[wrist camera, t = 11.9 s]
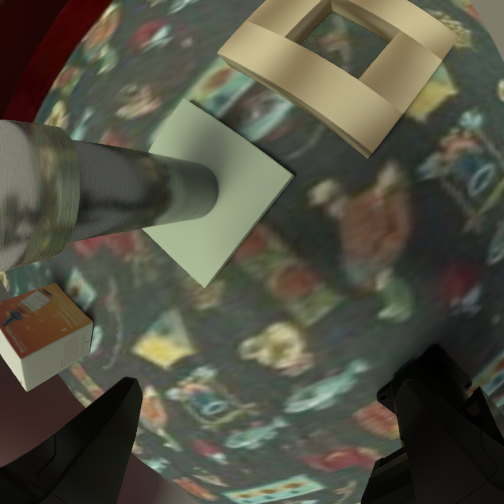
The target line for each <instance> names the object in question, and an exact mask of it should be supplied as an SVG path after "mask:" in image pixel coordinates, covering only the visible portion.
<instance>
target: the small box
mask: <svg viewBox="0 0 504 504" xmlns="http://www.w3.org/2000/svg"><path fill="white" fill-rule="evenodd" d="M92 329H93V321H92V320H91V319H90V318H89V317H88V316H86V315H85V314H84V313H83V312H82V311H81V310H80V309H79V308H78V307H77V306H76V305H75V304H74V303H73V302H72V300H71V299H70V298H69V297H68V296H67V295H66V294H65V293H64V292H63V291H62V290H61V288H60V287H59V286H58V285H57V284H56V283H53V284H50V285H47V286H44V287H41V288H38V289H36V290H33V291H30V292H27V293H24V294H21V295H19V296H16V297H13V298H10V299H8V300H5V301H2V302H0V354H1V355H2V357H3V358H4V360H5V361H6V363H7V364H8V365H9V367H10V368H11V370H12V371H13V373H14V374H15V375H16V377H17V378H18V380H19V381H20V382H21V384H22V386H23V387H24V389H25V390H26V391H29V390H31V389H33V388H34V387H36V386H37V385H39V384H41V383H42V382H44V381H46V380H47V379H49V378H50V377H52V376H54V375H55V374H57V373H58V372H60V371H62V370H63V369H65V368H66V367H68V366H70V365H71V364H73V363H75V362H76V361H78V360H80V359H81V358H83V357H85V356H86V355H88V354H89V350H90V343H91V336H92Z"/></svg>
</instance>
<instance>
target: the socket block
mask: <svg viewBox="0 0 504 504" xmlns="http://www.w3.org/2000/svg"><path fill="white" fill-rule="evenodd" d="M331 11H334V12H336V13H338V14H340V15H342V16H344V17H346V18H348V19H349V20H351V21H353V22H355V23H357V24H359V25H360V26H362V27H364V28H366V29H367V30H369V31H371V32H373V33H374V34H376V35H377V36H379V37H381V38H382V39H384V40H385V41H387V42H388V43H389V44H388V45H387V47H386V48H385V49H384V50H383V51H382V52H381V54H380V55H379V56H378V57H377V58H376V59H375V61H374V62H373V63H372V64H371V65H370V67H369V68H368V69H367V70H366V71H365V72H364V74H363V75H362V76H361V77H360V78H359V80H357V79H356V78H354V77H353V76H351V75H350V74H348V73H347V72H345V71H344V70H342V69H340V68H339V67H337V66H336V65H334V64H332V63H331V62H329V61H327V60H326V59H324V58H322V57H320V56H319V55H317V54H315V53H313V52H312V51H310V50H308V49H306V48H304V47H302V46H300V45H299V44H300V43H301V42H302V41H303V40H304V39H305V38H306V37H307V36H308V35H309V34H310V33H311V32H312V31H313V30H314V29H315V27H316V26H317V25H318V24H319V23H320V22H321V21H322V20H323V19H324V18H325V17H326V16H327V15H328V14H329V13H330V12H331ZM458 37H459V36H457V35H456V34H455V33H454V32H452V31H451V30H450V29H448V28H447V27H446V26H445V25H443V24H442V23H440V22H439V21H438V20H436V19H435V18H433V17H432V16H430V15H429V14H428V13H426V12H425V11H423V10H422V9H420V8H418V7H417V6H415V5H414V4H412V3H410V2H409V1H407V0H266V1H265V2H264V3H263V4H262V5H261V6H260V7H259V8H258V9H257V10H256V11H255V12H254V13H253V14H252V15H251V16H250V17H249V18H248V19H247V20H246V21H245V22H244V23H243V24H242V25H241V26H240V27H239V29H238V30H237V31H236V32H235V33H234V34H233V35H232V36H231V37H230V38H229V40H228V41H227V42H226V43H225V44H224V45H223V47H222V48H221V49H220V50H219V51H218V52H217V53H218V54H219V55H220V56H221V57H222V59H223V60H224V61H225V62H226V63H227V64H228V65H229V66H230V67H232V68H234V69H236V70H238V71H239V72H241V73H243V74H245V75H247V76H248V77H250V78H252V79H254V80H256V81H257V82H259V83H261V84H262V85H264V86H266V87H267V88H269V89H271V90H272V91H274V92H276V93H277V94H279V95H280V96H282V97H284V98H285V99H287V100H288V101H290V102H291V103H293V104H295V105H296V106H298V107H299V108H301V109H302V110H304V111H305V112H306V113H308V114H309V115H311V116H312V117H314V118H315V119H317V120H318V121H319V122H321V123H322V124H323V125H325V126H326V127H328V128H329V129H330V130H332V131H333V132H334V133H336V134H337V135H338V136H340V137H341V138H342V139H344V140H345V141H346V142H347V143H349V144H350V145H351V146H352V147H354V148H355V149H356V150H357V151H359V152H360V153H361V154H362V155H364V156H365V157H366V158H367V159H368V158H369V157H370V156H371V154H372V153H373V152H374V151H375V149H376V148H377V147H378V146H379V144H380V143H381V142H382V140H383V139H384V138H385V137H386V135H387V134H388V133H389V131H390V130H391V129H392V127H393V126H394V125H395V124H396V122H397V121H398V120H399V118H400V117H401V116H402V114H403V113H404V112H405V110H406V109H407V108H408V106H409V105H410V104H411V102H412V101H413V100H414V98H415V97H416V96H417V94H418V93H419V92H420V90H421V89H422V88H423V86H424V85H425V84H426V82H427V81H428V80H429V78H430V77H431V75H432V74H433V73H434V71H435V70H436V69H437V67H438V66H439V64H440V63H441V62H442V60H443V59H444V57H445V56H446V55H447V53H448V52H449V50H450V49H451V47H452V46H453V45H454V43H455V42H456V40H457V39H458Z"/></svg>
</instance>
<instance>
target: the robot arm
mask: <svg viewBox="0 0 504 504" xmlns="http://www.w3.org/2000/svg"><path fill="white" fill-rule="evenodd" d="M437 349H438V350H437ZM435 350H437V352H435V353H433V352H434V351H435ZM467 383H468V384H467ZM466 384H467V385H466ZM471 385H472V381H471V379H470V378H469V377H468V376H467V375H466V373H465V372H464V371H463V370H462V369H461V368H460V367H459V366H458V365H457V363H456V362H455V361H454V360H453V359H452V358H451V357H450V356H449V355H448V354H447V353H446V352H445V350H444V349H443V348H442V347H441V346H440V345H438V344H435V345H433V346H431V347H430V348H429V349H428V350H427V351H426V352H425V353H424V354H423V355H422V356H421V357H420V358H419V359H418V360H416V361H415V362H413V363H412V364H411V365H410V366H409V367H408V368H407V369H405V370H404V371H403V372H402V373H401V374H400V375H398V376H397V377H396V378H395V379H393V380H392V381H391V383H389V384H388V385H387V386H386V387H384V388H383V389H382V390H381V391H379V392H378V393H377V400H378V402H380V403H381V404H382V405H384V406H385V407H386V408H388V409H389V410H390V411H392V412H393V413H394V414H396V416H397V420H398V426H399V433H400V439H401V444H402V448H400V449H399V450H397V451H395V452H394V453H392V454H390V455H389V456H387V457H385V458H381V459H379V460H377V461H376V462H375V465H374V468H373V471H372V473H371V476H370V478H369V481H368V484H367V486H366V489H365V491H364V494H363V496H362V499H361V504H504V416H503V414H502V413H501V411H500V410H499V409H498V408H497V406H496V405H495V404H494V403H493V401H492V400H491V399H490V398H489V397H488V395H487V394H486V393H485V392H484V391H483V389H482V388H481V387H480V386H479V387H478V388H477V389H476V390H475V391H474V392H473V394H472V395H471V396H470V397H469V396H468V394H467V392H466V391H467V390H468V389H469V388H470V387H471ZM383 395H385V396H384V397H381V396H383ZM142 400H143V394H142V391H141V388H140V385H139V383H138V380H137V379H136V378H132V377H124V378H122V379H121V380H120V381H119V382H117V383H116V384H115V385H114V386H112V387H111V388H110V389H109V390H108V391H106V392H105V393H104V394H103V395H101V396H100V397H99V398H98V399H96V400H95V401H94V402H93V403H92V404H90V405H89V406H88V407H87V408H85V409H84V410H83V411H82V412H80V413H79V414H78V415H77V416H75V417H74V418H73V419H72V420H70V421H69V422H68V423H67V424H65V425H64V426H63V427H62V428H60V429H59V430H58V431H56V432H55V434H53V435H51V436H50V437H49V438H48V439H46V440H45V441H43V442H42V443H41V444H39V445H38V446H37V447H35V448H34V449H32V450H30V451H29V452H27V453H25V454H24V455H22V456H20V457H19V458H17V459H15V460H13V461H12V462H10V463H8V464H6V465H4V466H2V467H0V504H117V501H118V497H119V493H120V490H121V486H122V482H123V479H124V475H125V471H126V468H127V464H128V461H129V458H130V454H131V451H132V447H133V444H134V441H135V437H136V432H137V427H138V421H139V416H140V410H141V405H142Z"/></svg>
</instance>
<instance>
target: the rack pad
mask: <svg viewBox="0 0 504 504" xmlns="http://www.w3.org/2000/svg"><path fill="white" fill-rule="evenodd" d="M149 153H154V154H159V155H164V156H169V157H173V158H178V159H183V160H187V161H192V162H196V163H200V164H203V165H205V166H207V167H208V168H210V169H211V171H212V172H213V173H214V174H215V176H216V179H217V181H218V186H219V194H218V199H217V202H216V204H215V206H214V208H213V209H212V210H211V211H210V213H208V214H207V215H206V216H204V217H202V218H199V219H195V220H188V221H182V222H176V223H170V224H164V225H158V226H152V227H147V228H142V229H143V230H144V231H145V232H146V233H147V234H148V235H149V236H150V237H151V238H152V239H153V240H154V241H155V242H156V243H157V244H159V245H160V246H161V247H162V248H163V249H164V250H165V251H166V252H167V253H168V254H169V255H170V256H171V257H172V258H173V259H174V260H175V261H176V262H177V263H178V264H179V265H180V266H181V267H183V268H184V269H185V270H186V271H187V272H188V273H189V274H190V275H191V276H192V277H193V278H194V279H195V280H196V281H198V282H199V283H200V284H201V285H202V286H203V287H204V288H206V287H207V286H209V285H210V284H211V283H212V282H213V280H214V279H215V278H216V276H217V275H218V274H219V273H220V271H221V270H222V269H223V267H224V266H225V265H226V263H227V262H228V261H229V260H230V258H231V257H232V256H233V254H234V253H235V252H236V251H237V249H238V248H239V247H240V245H241V244H242V243H243V242H244V240H245V239H246V238H247V236H248V235H249V234H250V233H251V231H252V230H253V229H254V227H255V226H256V225H257V224H258V222H259V221H260V220H261V218H262V217H263V216H264V215H265V213H266V212H267V211H268V210H269V208H270V207H271V206H272V204H273V203H274V202H275V201H276V199H277V198H278V197H279V196H280V194H281V193H282V192H283V190H284V189H285V188H286V187H287V185H288V184H289V183H290V182H291V180H292V179H293V178H294V177H295V176H294V175H293V174H291V173H290V172H289V171H288V170H286V169H285V168H284V167H282V166H281V165H280V164H278V163H277V162H276V161H274V160H273V159H272V158H271V157H269V156H268V155H266V154H265V153H264V152H262V151H261V150H260V149H258V148H257V147H256V146H254V145H253V144H251V143H250V142H249V141H247V140H246V139H245V138H243V137H242V136H240V135H239V134H237V133H236V132H235V131H233V130H232V129H230V128H229V127H227V126H226V125H224V124H223V123H221V122H220V121H219V120H217V119H216V118H214V117H213V116H211V115H210V114H208V113H206V112H205V111H203V110H202V109H200V108H199V107H197V106H196V105H194V104H193V103H191V102H189V101H188V100H186V99H184V98H183V100H182V101H181V102H180V104H179V105H178V107H177V108H176V110H175V111H174V112H173V114H172V115H171V117H170V118H169V120H168V121H167V123H166V124H165V126H164V127H163V129H162V131H161V132H160V134H159V135H158V137H157V138H156V140H155V142H154V143H153V145H152V147H151V148H150V150H149Z"/></svg>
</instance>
